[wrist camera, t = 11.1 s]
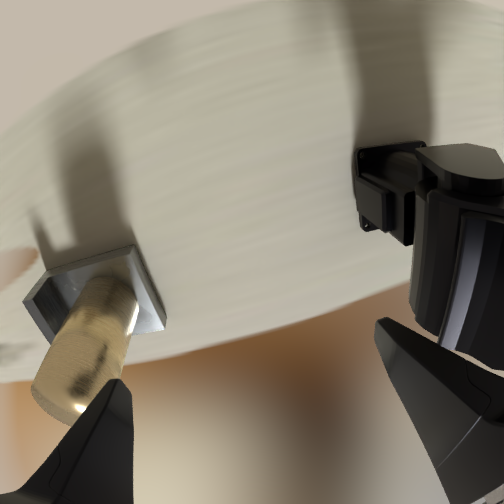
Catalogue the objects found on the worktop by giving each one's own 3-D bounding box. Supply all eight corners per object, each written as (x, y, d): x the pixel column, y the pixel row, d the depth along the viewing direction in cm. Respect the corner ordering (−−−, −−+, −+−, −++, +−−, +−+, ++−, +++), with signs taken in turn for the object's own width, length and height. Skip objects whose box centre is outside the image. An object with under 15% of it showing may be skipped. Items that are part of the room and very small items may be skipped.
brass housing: (123, 270, 20) (77, 378, 11) (148, 322, 22) (125, 431, 13) (72, 283, 20) (16, 379, 11) (98, 330, 22) (63, 429, 13)
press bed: (134, 244, 20) (118, 276, 17) (166, 317, 24) (160, 356, 20) (46, 270, 20) (22, 301, 16) (82, 333, 24) (68, 367, 20)
